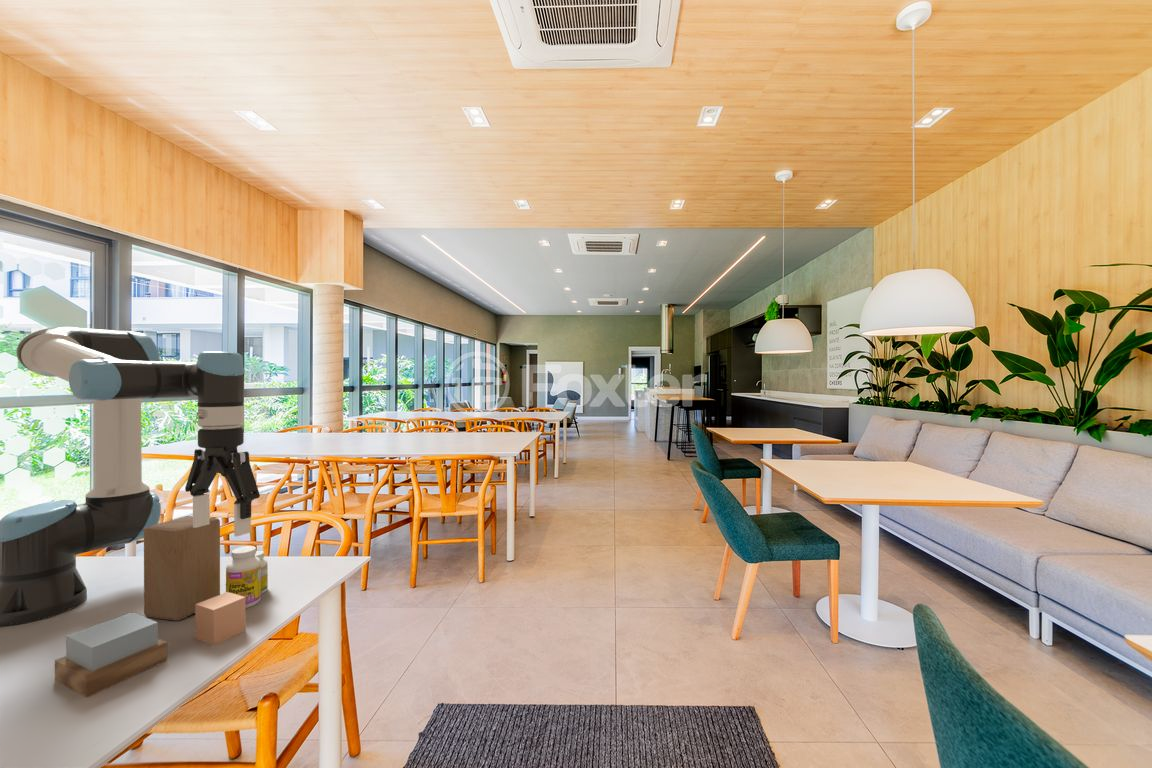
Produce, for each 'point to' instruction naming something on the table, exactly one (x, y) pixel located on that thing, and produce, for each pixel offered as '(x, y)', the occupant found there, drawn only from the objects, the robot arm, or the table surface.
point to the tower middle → (111, 641)
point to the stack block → (219, 618)
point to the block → (180, 567)
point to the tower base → (108, 670)
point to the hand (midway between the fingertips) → (221, 530)
